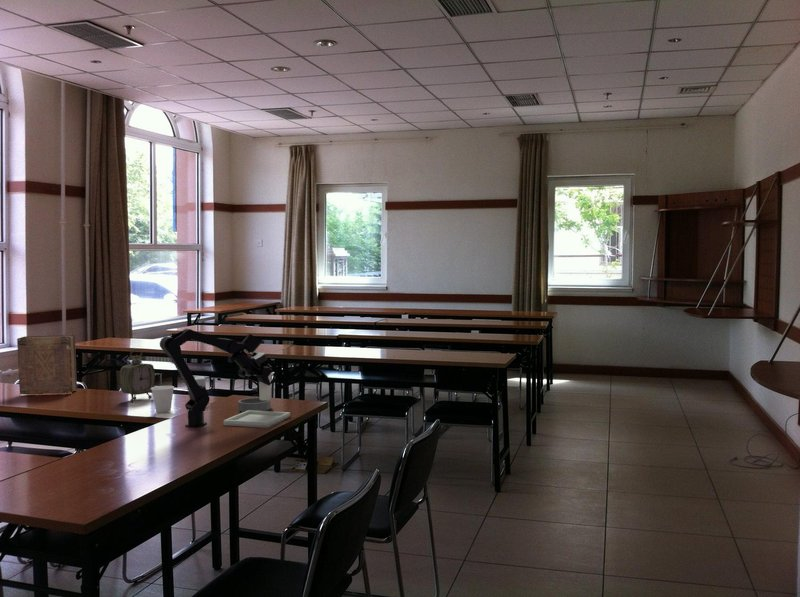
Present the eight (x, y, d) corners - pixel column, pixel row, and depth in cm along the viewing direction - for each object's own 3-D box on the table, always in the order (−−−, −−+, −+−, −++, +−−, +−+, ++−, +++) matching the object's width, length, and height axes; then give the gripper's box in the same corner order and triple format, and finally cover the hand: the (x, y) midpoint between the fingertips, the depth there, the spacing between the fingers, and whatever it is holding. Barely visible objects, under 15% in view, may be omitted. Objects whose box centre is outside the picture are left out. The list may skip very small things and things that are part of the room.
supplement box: (205, 402, 334) (204, 376, 333) (206, 405, 327) (205, 378, 326) (189, 403, 331) (188, 377, 331) (190, 406, 324) (189, 379, 324)
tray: (267, 427, 280) (267, 422, 279) (223, 425, 285) (223, 420, 285) (290, 417, 299) (290, 412, 299) (248, 414, 305) (248, 410, 304)
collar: (261, 413, 307) (260, 404, 307) (232, 411, 311) (232, 402, 311) (275, 406, 321) (275, 398, 320) (248, 405, 325) (248, 397, 324)
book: (77, 391, 370) (75, 334, 369) (72, 394, 361) (70, 336, 360) (25, 393, 366) (23, 336, 364) (19, 396, 357) (17, 338, 355)
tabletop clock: (131, 403, 334) (129, 351, 333) (118, 401, 339) (116, 350, 337) (155, 398, 347) (153, 348, 345) (143, 396, 351) (141, 347, 350)
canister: (263, 400, 302) (263, 373, 302) (256, 399, 306) (256, 372, 305) (273, 399, 306) (273, 371, 305) (266, 397, 309) (266, 370, 309)
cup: (167, 414, 308) (166, 389, 307) (147, 413, 310) (146, 389, 309) (179, 409, 318) (178, 385, 317) (159, 409, 320) (158, 385, 319)
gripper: (268, 348, 295) (289, 371, 303) (243, 345, 308) (264, 367, 316) (252, 369, 290) (275, 392, 298) (228, 364, 303) (250, 387, 311)
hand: (266, 384), depth 306 cm, fingers closed on canister, 5 cm apart
